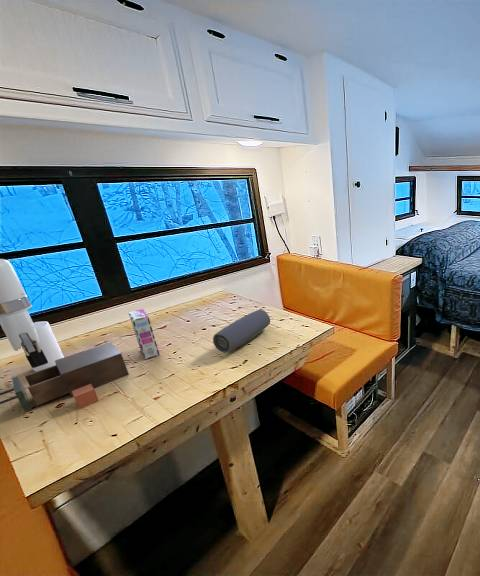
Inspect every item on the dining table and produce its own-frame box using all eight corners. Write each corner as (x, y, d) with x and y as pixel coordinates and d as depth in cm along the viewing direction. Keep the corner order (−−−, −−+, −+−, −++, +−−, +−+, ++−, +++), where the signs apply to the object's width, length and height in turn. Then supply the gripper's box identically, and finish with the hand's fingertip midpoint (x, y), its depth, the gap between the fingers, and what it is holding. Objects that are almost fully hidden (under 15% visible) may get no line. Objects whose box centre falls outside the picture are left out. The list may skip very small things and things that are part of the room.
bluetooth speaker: (256, 327, 137) (252, 307, 134) (273, 330, 134) (269, 309, 131) (214, 353, 117) (209, 330, 114) (233, 357, 114) (228, 334, 111)
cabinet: (71, 397, 95) (60, 374, 92) (64, 382, 102) (54, 360, 99) (128, 374, 106) (121, 353, 103) (118, 362, 113) (111, 342, 110)
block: (79, 409, 90) (74, 397, 89) (76, 402, 93) (71, 391, 91) (99, 400, 93) (94, 389, 92) (95, 395, 96) (90, 383, 94)
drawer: (-14, 427, 83) (-26, 407, 81) (-15, 409, 90) (-26, 390, 87) (87, 387, 98) (79, 369, 96) (79, 374, 105) (72, 357, 102)
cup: (49, 371, 108) (30, 331, 103) (26, 372, 108) (6, 332, 103) (71, 358, 116) (55, 321, 111) (50, 359, 116) (32, 321, 111)
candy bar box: (161, 355, 117) (148, 316, 112) (145, 360, 114) (131, 321, 108) (155, 344, 125) (143, 308, 119) (140, 349, 121) (127, 312, 116)
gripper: (-14, 305, 82) (18, 362, 88) (-13, 318, 73) (23, 381, 80) (26, 295, 87) (54, 350, 94) (33, 307, 79) (63, 366, 85)
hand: (40, 364), depth 87 cm, fingers closed
